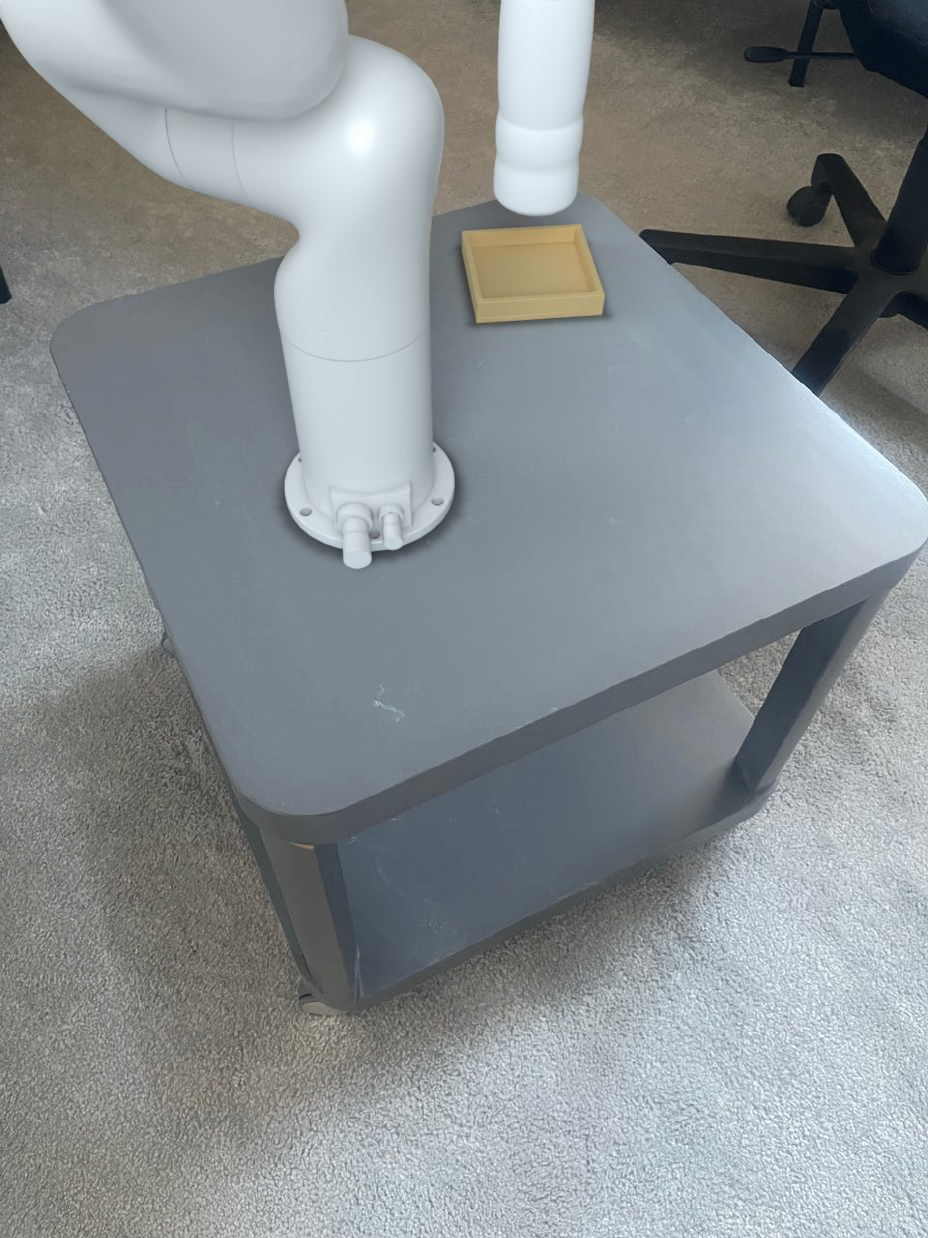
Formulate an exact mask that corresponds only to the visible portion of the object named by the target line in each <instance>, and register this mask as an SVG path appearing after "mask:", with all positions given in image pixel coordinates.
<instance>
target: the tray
mask: <svg viewBox="0 0 928 1238" xmlns="http://www.w3.org/2000/svg"><path fill="white" fill-rule="evenodd" d="M589 246H590V245H589V243H588V241H587V238H586V235H585V231H584V229H583V226H582V223H573V224H572V223H571V224H557V225H556V224H554V225H539V226H538V225H537V226H522V227H503V228H489V229H488V228H487V229H472V230H471V229H470V230H462V231H461V253H462V258H463V263H464V268H465V272H466V278H467V284H468V288H469V292H470V297H471V298H470V299H471V302H472V307H473V314H474V317H475V322H476V324H486V323H487V324H488V323H503V322H516V321H517V322H518V321H534V320H548V319H562V318H565V319H566V318H578V317H593V316H594V317H595V316H602V315H603V312H604V305H605V298H606V293H605V290H604V287H603V285H602V282H601V279H600V276H599V274H598V271H597V267H596V265H595V261H594V258H593V255H592V252H591V249H590V247H589Z"/></svg>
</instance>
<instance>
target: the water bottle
mask: <svg viewBox="0 0 928 1238" xmlns="http://www.w3.org/2000/svg"><path fill="white" fill-rule="evenodd" d="M595 4H596V0H500V9H499V11H500V12H499V21H498V22H499V23H498V24H499V25H498V41H497V42H498V43H497V45H498V46H497V95H498V96H497V98H498V111H497V115H496V119H495V135H494V136H495V148H496V149H495V150H496V156H495V161H494V168H493V193H494V197H495V199H496V200H497V201H498V202H499V204H500V205H501V206H503V207H504V208H506V209H507V210H509V211H510V212H513V213H515V214H518V215H522V216H526V217H546V216H552V215H554V214H555V215H556V214H558V213H560V212H562V211H564V210H566V209H567V208H569V207H570V206H571V205H572V204H573V202H574V201H575V199H576V198H577V194H578V187H579V177H580V174H579V173H580V160H579V158H580V157H579V156H580V152H581V147H582V144H583V137H584V114H583V109H584V105H585V101H586V95H587V89H588V83H589V74H590V68H591V67H590V66H591V59H592V47H593V39H594V37H593V36H594V24H595V8H596V7H595Z"/></svg>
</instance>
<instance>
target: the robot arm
mask: <svg viewBox="0 0 928 1238" xmlns="http://www.w3.org/2000/svg"><path fill="white" fill-rule="evenodd" d="M0 20H1V22H2V24H3V26H4V28H5V30H6V32H7V34H8V35H9V37H10V39H11V40H12V42H13V44H14V45H15V47H16V48H17V50H18V51H19V52H20V53H21V55H22V57H23V58H24V59H25V60H26V62H27V63H28V64H29V65H30V66H31V68H33V69H34V70H35V72H36V73H37V74H38V75H39V76H40V77H42V78H43V79H44V81H46V82H47V83H48V84H49V85H50V86H51V87H53V88H54V90H56V91H57V93H59V95H61V96H62V97H64V98H65V99H66V100H67V101H68V102H69V103H71V105H73V106H74V107H75V108H76V109H78V110H79V111H80V112H81V113H82V114H83V115H84V116H86V117H87V118H88V119H89V120H90V121H92V122H93V123H94V124H95V125H96V126H97V127H98V128H99V129H101V130H102V132H104V133H106V135H108V136H109V137H110V138H111V139H112V140H114V141H115V142H116V143H117V144H118V145H119V146H121V147H122V148H123V149H124V150H125V151H127V153H129V154H130V155H131V156H133V158H135V159H136V160H137V161H139V162H140V163H141V164H142V165H144V166H145V167H146V168H148V169H149V170H151V171H152V172H153V173H155V174H157V175H158V176H160V177H161V178H163V179H165V180H167V181H169V182H170V183H173V184H175V185H177V186H179V187H182V188H184V189H187V190H190V191H193V192H197V193H199V194H203V195H206V196H209V197H213V198H216V199H220V200H223V201H227V202H229V203H234V204H237V205H240V206H243V207H248V208H250V209H253V210H258V211H260V212H263V213H264V214H267V215H270V216H274V217H277V218H280V219H282V220H285V221H287V222H289V223H290V224H291V225H293V226H294V227H295V228H296V229H297V232H298V236H299V237H298V240H297V241H296V242H295V243H294V245H292V247H291V248H290V249H289V250H288V252H287V253H286V254H285V255H284V258H283V259H282V261H281V263H280V264H279V267H278V269H277V270H276V271H277V272H276V275H275V279H274V287H273V290H274V291H273V292H274V293H273V299H274V309H275V314H276V320H277V326H278V329H279V335H280V340H281V341H280V342H281V346H282V347H281V348H282V353H283V359H284V365H285V370H286V377H287V378H286V379H287V383H288V389H289V394H290V395H289V396H290V401H291V407H292V413H293V414H292V415H293V420H294V425H295V432H296V437H297V444H298V450H299V452H298V453H297V454H296V455H295V456H294V457H293V459H292V460H291V462H290V464H289V466H288V468H287V470H286V474H285V477H284V496H285V501H286V507H287V510H288V511H289V513H290V516H291V518H292V519H293V520H294V522H295V523H296V524H297V525H298V527H299V528H300V529H301V530H302V531H304V532H305V533H306V534H308V536H310V537H311V538H313V539H315V540H317V541H318V542H321V543H323V544H325V545H328V546H331V547H333V548H336V549H341V550H342V558H343V564H344V565H345V566H346V567H347V568H350V569H353V570H358V569H359V570H361V569H364V568H366V567H368V566H369V565H370V564H371V563H372V559H373V555H372V552H379V551H388V550H389V551H396V550H399V549H401V548H402V547H403V546H406V545H409V544H410V543H413V542H416V541H417V540H419V539H421V538H423V537H424V536H426V535H427V534H429V533H430V532H432V531H433V530H435V528H436V527H437V526H438V525H439V524H440V523H441V522H442V521H443V520H444V519H445V517H446V516H447V514H448V513H449V511H450V509H451V507H452V504H453V501H454V498H455V491H456V484H455V483H456V482H455V481H456V479H455V471H454V469H453V468H454V467H453V465H452V464H453V463H452V462H451V460H450V458H449V457H448V455H447V454H446V452H445V451H444V450H443V449H442V448H441V446H439V445H438V444H437V442H435V441H434V435H433V432H434V431H433V394H432V393H433V392H432V391H433V389H432V353H431V351H432V350H431V348H432V346H431V309H430V308H431V307H430V302H431V301H430V253H431V252H430V251H431V234H432V225H433V215H434V208H435V202H436V201H435V200H436V195H437V194H436V193H437V189H438V183H439V177H440V171H441V164H442V160H443V153H444V152H443V151H444V144H445V113H444V107H443V104H442V100H441V99H442V98H441V96H440V94H439V91H438V89H437V87H436V85H435V84H434V82H433V80H432V79H431V78H430V76H429V75H428V74H427V72H425V70H424V69H422V67H421V66H420V65H419V64H417V63H416V62H415V61H414V60H412V59H411V58H409V57H408V56H407V55H405V54H402V52H399V51H398V50H396V49H394V48H392V47H389V46H387V45H385V44H382V43H380V42H377V41H374V40H371V39H367V38H366V37H362V36H358V35H353V34H350V33H349V32H350V31H349V29H350V27H349V14H348V10H347V5H346V1H345V0H0Z"/></svg>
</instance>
